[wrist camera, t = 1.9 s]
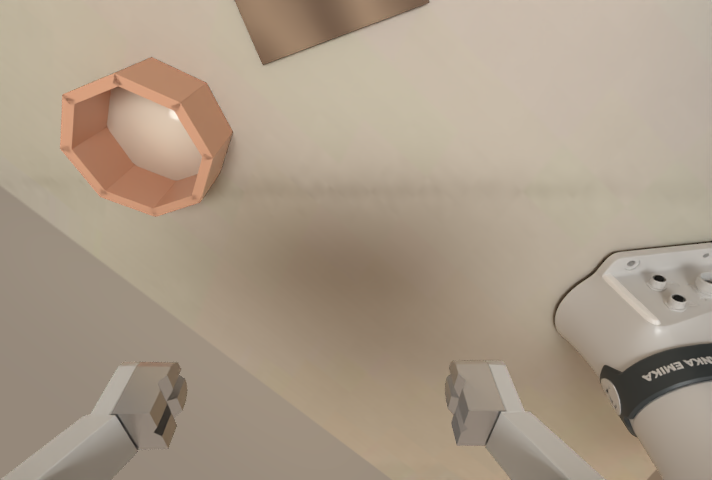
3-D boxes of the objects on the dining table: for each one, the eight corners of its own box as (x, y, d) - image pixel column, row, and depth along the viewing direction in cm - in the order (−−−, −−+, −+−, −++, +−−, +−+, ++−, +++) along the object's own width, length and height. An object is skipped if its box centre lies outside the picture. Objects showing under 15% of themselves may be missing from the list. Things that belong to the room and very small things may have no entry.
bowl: (185, 43, 31) (153, 56, 26) (249, 162, 37) (233, 191, 32) (75, 88, 33) (27, 109, 28) (153, 194, 39) (125, 226, 34)
